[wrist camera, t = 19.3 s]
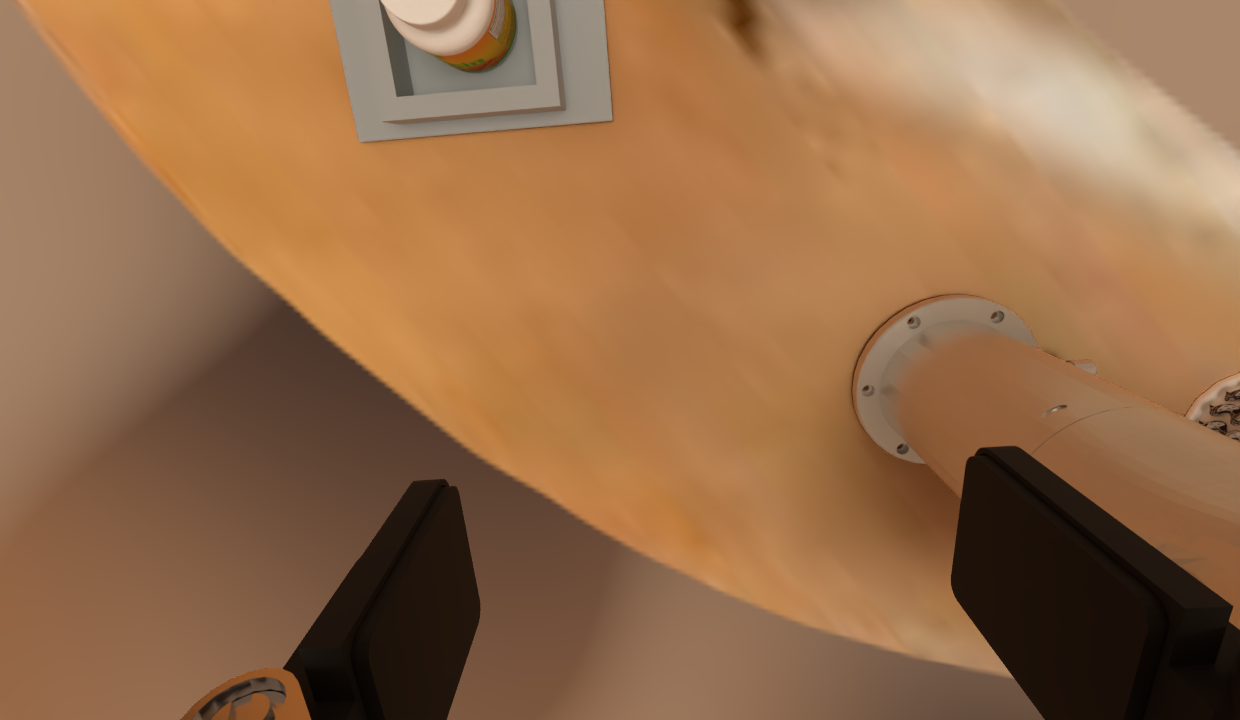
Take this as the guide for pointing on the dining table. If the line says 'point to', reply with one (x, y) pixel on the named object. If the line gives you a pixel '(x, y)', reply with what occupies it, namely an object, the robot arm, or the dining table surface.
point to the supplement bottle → (458, 30)
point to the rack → (476, 74)
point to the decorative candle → (1219, 407)
